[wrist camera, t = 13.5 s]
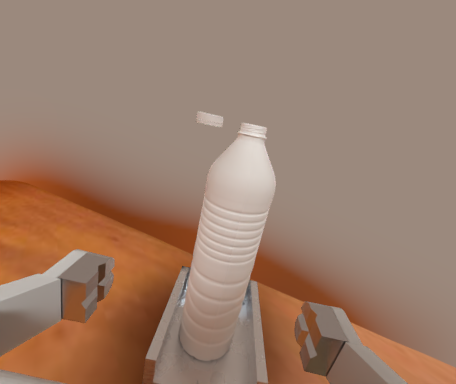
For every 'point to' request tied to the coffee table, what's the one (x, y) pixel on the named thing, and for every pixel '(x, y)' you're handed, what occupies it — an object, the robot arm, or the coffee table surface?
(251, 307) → the keeper cradle
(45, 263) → the coffee table surface
